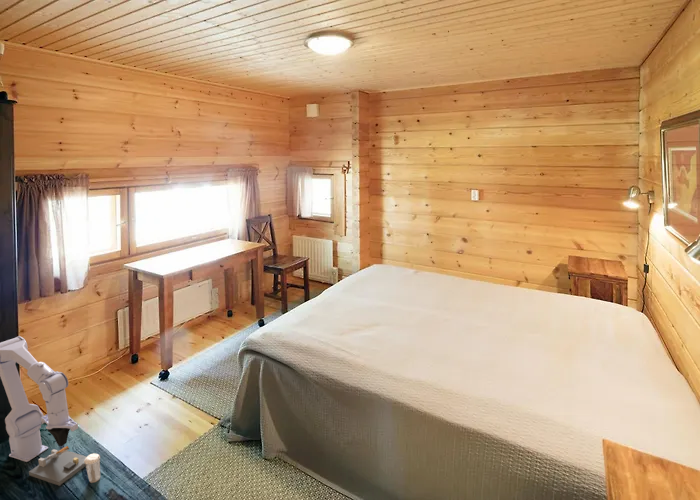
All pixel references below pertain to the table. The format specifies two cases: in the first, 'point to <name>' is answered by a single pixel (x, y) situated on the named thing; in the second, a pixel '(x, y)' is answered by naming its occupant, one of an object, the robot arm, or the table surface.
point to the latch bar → (57, 453)
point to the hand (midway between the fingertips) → (62, 444)
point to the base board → (58, 467)
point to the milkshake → (93, 467)
